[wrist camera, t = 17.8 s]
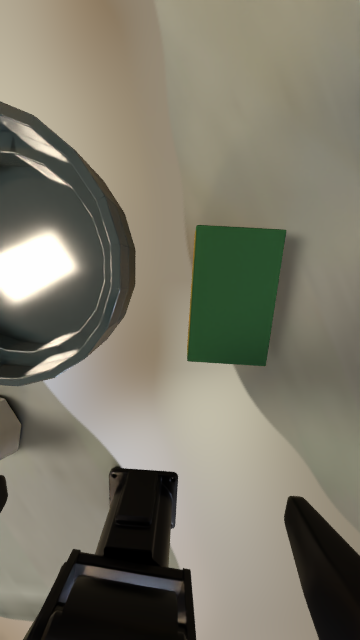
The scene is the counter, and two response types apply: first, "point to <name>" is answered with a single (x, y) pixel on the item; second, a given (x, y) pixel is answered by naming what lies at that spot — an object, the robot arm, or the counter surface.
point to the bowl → (55, 254)
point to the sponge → (233, 293)
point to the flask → (8, 430)
